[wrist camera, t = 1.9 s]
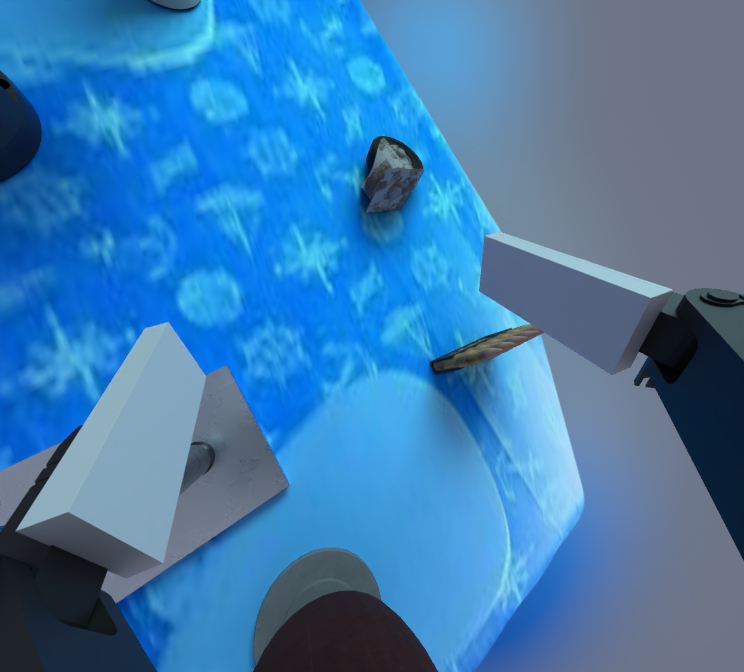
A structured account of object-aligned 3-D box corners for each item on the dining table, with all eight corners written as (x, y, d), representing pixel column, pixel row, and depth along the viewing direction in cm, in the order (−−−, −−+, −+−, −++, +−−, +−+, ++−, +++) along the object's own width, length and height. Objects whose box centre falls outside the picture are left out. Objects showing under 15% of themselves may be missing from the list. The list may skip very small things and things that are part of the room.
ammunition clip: (486, 335, 41) (562, 311, 30) (492, 347, 41) (570, 326, 30) (429, 362, 37) (491, 344, 26) (435, 374, 37) (499, 363, 26)
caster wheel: (391, 165, 46) (422, 210, 44) (333, 163, 40) (367, 216, 38) (411, 123, 41) (448, 172, 39) (348, 114, 35) (389, 171, 33)
